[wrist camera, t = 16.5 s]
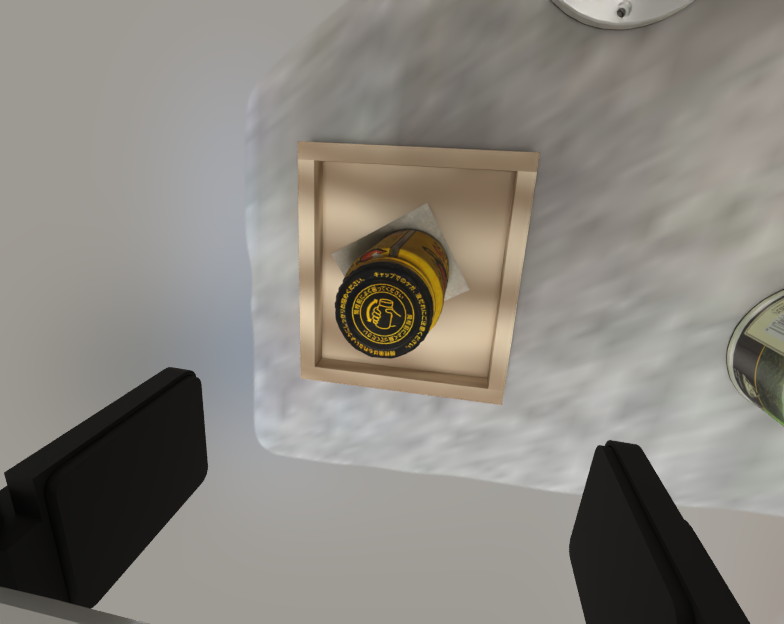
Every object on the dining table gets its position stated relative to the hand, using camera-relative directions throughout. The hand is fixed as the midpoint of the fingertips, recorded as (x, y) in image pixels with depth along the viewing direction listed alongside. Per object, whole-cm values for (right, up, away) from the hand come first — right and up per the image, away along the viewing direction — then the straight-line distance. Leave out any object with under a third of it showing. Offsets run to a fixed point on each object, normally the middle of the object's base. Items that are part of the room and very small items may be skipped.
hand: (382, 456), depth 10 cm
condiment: (+1, +7, +24) cm, 24 cm away
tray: (+2, +6, +24) cm, 25 cm away
